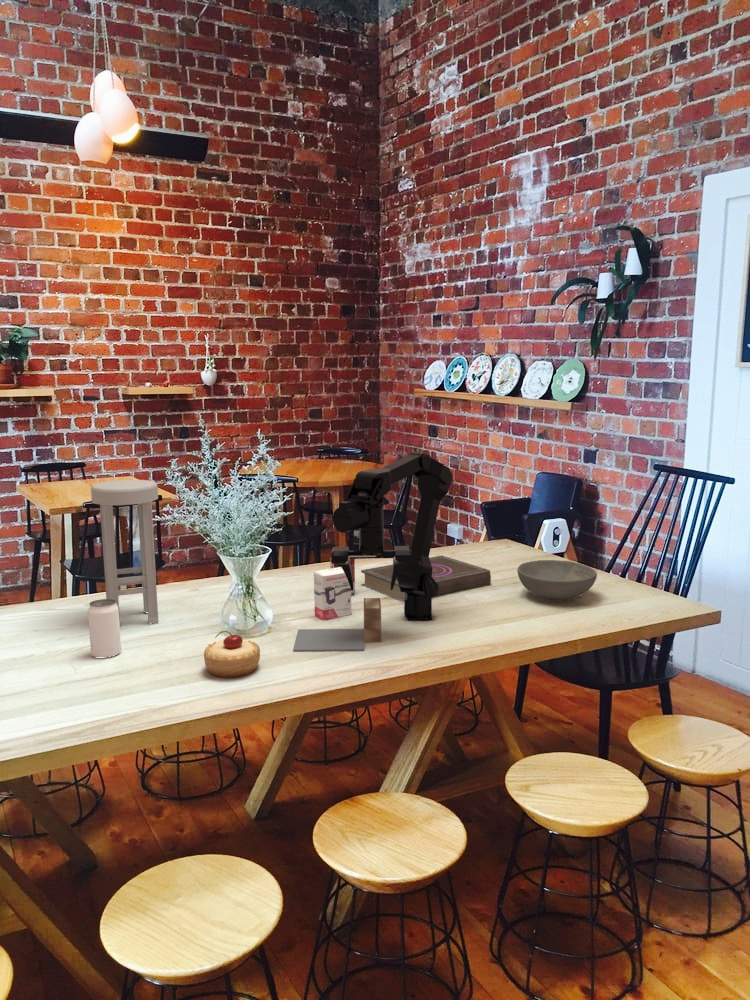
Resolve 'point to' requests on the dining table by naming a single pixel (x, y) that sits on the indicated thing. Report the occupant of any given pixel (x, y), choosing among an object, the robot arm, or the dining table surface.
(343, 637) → the mat
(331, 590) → the ink box
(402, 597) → the book
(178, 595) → the dining table surface
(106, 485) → the stool
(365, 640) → the slab
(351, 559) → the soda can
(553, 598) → the bowl
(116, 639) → the can
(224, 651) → the pastry
